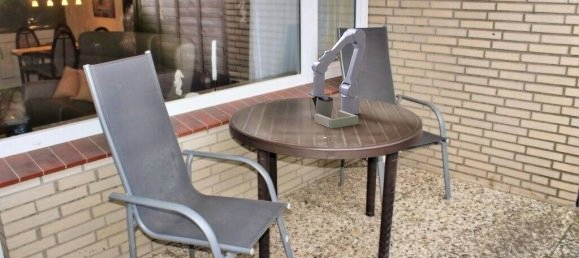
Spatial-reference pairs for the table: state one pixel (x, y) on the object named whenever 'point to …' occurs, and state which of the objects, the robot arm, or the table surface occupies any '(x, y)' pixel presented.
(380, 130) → the table surface
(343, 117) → the stall
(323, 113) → the cup
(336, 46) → the robot arm
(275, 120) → the table surface
